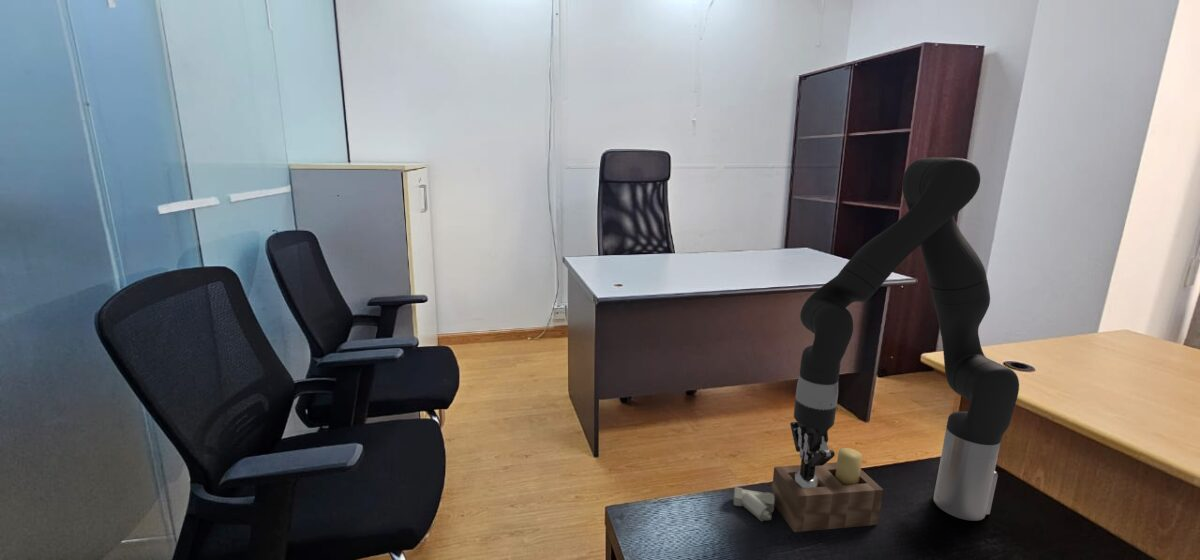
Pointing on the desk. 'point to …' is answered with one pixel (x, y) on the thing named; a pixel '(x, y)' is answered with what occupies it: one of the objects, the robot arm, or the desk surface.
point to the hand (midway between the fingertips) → (806, 477)
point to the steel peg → (806, 481)
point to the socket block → (825, 500)
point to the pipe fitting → (755, 502)
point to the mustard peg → (848, 466)
